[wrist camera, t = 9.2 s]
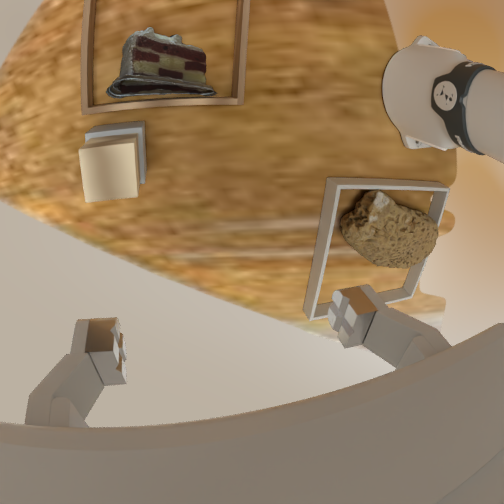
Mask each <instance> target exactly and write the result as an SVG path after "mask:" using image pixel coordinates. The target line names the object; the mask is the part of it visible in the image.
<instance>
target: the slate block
mask: <svg viewBox="0 0 504 504" xmlns="http://www.w3.org/2000/svg"><path fill="white" fill-rule="evenodd" d="M130 133H138V144H139V163H140V178H141V180H140V184H143V183H145V180H146V171H147V166H146V145H145V121H134V122H124V123H115V124H107V125H99V126H94V127H93V128H92V129H90V130H89V131H88V132H87V133H85V142H87V141H88V140H89V139H90V138H96V137H104V136H112V135H121V134H130Z"/></svg>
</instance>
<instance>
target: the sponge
mask: <svg viewBox="0 0 504 504" xmlns="http://www.w3.org/2000/svg"><path fill="white" fill-rule="evenodd" d="M340 227H342V229H341V232H342V235H343V237H344V239H345V240H346V241H347V242H348V243H349V244H350V245H351V246H352V247H353V248H354V250H356V251H357V252H358V253H359V254H360V255H362V256H364V257H365V258H366V259H367V260H369V261H371V262H372V263H373V264H376V265H377V266H383V267H390V268H395V267H397V268H409V267H411V266H414V265H416V264H418V263H421V262H422V260H423V259H425V258H426V257H428V256H429V254H430V253H431V252H432V251H433V249H434V247H435V245H436V239H437V237H438V225H437V223H436V222H435V220H434V219H432V218H431V217H430V216H428V215H426V214H424V213H422V212H420V211H418V210H412V209H409V208H407V207H403V206H401V205H397V204H395V202H394V201H393V200H392V199H391V198H390V197H389V196H388V195H387V194H386V193H383V192H381V191H380V190H379V189H375V190H370V191H369V192H365V193H364V197H363V198H361V199H360V200H359V202H356V206H355V209H354V211H351V212H349V213H347V214H346V215H344V216H343V217H342V219H341V226H340Z"/></svg>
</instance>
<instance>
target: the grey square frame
mask: <svg viewBox="0 0 504 504" xmlns="http://www.w3.org/2000/svg"><path fill="white" fill-rule="evenodd" d="M341 189H390V190H424V191H434V195H433V199H432V202H431V206H430V209H429V213H428V216H430V217H431V218H432V219H434V220H435V222H436V223H437V225H438V227H439V224H440V221H441V218H442V215H443V211H444V208H445V204H446V201H447V198H448V194H449V190H450V188H448V187H447V186H445V185H443V184H441V183H440V182H432V181H417V180H400V179H377V178H340V177H327V181H326V187H325V193H324V200H323V206H322V212H321V218H320V224H319V229H318V235H317V240H316V246H315V251H314V257H313V262H312V267H311V272H310V277H309V282H308V287H307V292H306V297H305V302H304V306H303V311H304V312H305V314H306V316H307V318H308V319H309V321H312V320H317V319H322V318H327V317H328V310H329V307H330V306H331V304H332V303H333V302H329V303H324V304H318V305H317V300H318V296H319V292H320V288H321V283H322V279H323V275H324V270H325V266H326V261H327V256H328V252H329V247H330V242H331V237H332V232H333V227H334V222H335V217H336V212H337V206H338V201H339V195H340V190H341ZM427 259H428V257H426V258H425V259H423V260H422V262H421V263H418V264H416V265H414V266H411V267H410V270H409V273H408V276H407V278H406V281H405V283H404V286H403V288H399V289H394V290H389V291H385V292H380V293H377V295H378V296H379V297H380V298H381V299H382V300H383V302H384V303H385V304H390V303H394V302H398V301H402V300H406V299H410V298H412V297H413V294H414V292H415V290H416V287H417V285H418V282H419V280H420V277H421V275H422V272H423V269H424V267H425V264H426V262H427Z"/></svg>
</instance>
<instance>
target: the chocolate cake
mask: <svg viewBox="0 0 504 504" xmlns="http://www.w3.org/2000/svg"><path fill="white" fill-rule="evenodd" d="M122 52H123V58H122V62H121V71H120V76H119V78H117V79H116V80H115V81H114V82H113V84H112V85H111V86H110V87H108V88H107V91H106V93H107V94H108V95H109V96H111V97H113V98H123V97H128V96H137V95H151V94H159V95H165V94H172V93H173V94H201V95H204V96H212V95H215V94H217V93H216V92H215V91H213V88H212V87H211V86H207V85H205V84H206V78H205V72H206V55H205V53H204V52H203V50H202V49H200V48H197V47H195V46H192V45H185V44H182V37H181V36H179V35H172V36H170V37H167V36H164V35H159V34H155V33H154V30H153V28H152V27H149V28H147V29H146V30H145V31H137V32H135V33H134V34H132V35H131V36H130V37H129V38H128V39H127V41H126V43H125V44H124V46H123V50H122Z"/></svg>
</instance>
